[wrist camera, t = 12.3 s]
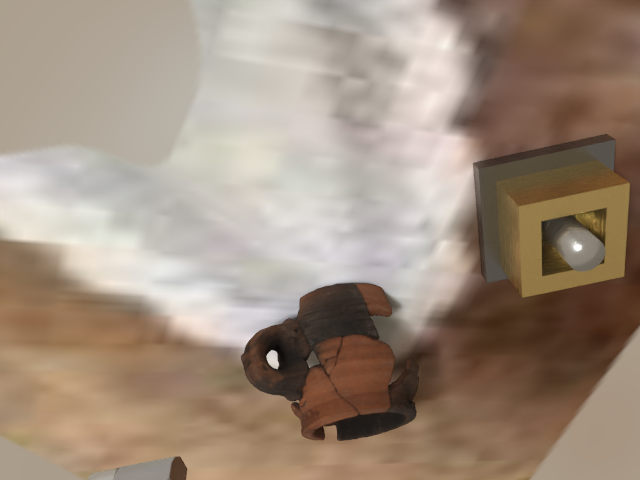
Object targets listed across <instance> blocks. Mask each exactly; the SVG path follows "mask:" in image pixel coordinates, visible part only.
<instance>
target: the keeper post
mask: <svg viewBox="0 0 640 480" xmlns="http://www.w3.org/2000/svg"><path fill="white" fill-rule="evenodd" d="M614 157H615V139H614V138H612V137H610V136H609V135H607V134H605V135H601V136H596V137H591V138H587V139H582V140H577V141H573V142H568V143H563V144H559V145H554V146H550V147H545V148H540V149H536V150H531V151H526V152H522V153H517V154H513V155H508V156H503V157H499V158H494V159H489V160H485V161H480V162H476V163H473V168H474V181H475V193H476V206H477V219H478V232H479V245H480V257H481V270H482V276H483V278H484V279H485V281H486V282H487V283H490V282H494V281H499V280H504V279H509V278H508V277H507V275H506V274H505V272H504V271H503V269H502V268H501V258H500V240H499V222H498V204H497V186H496V182H497V181H501V180H506V179H511V178H515V177H520V176H525V175H529V174H534V173H539V172H544V171H548V170H553V169H558V168H562V167H567V166H572V165H576V164H581V163H586V162H591V161H595V160H598V161H599V162H601V163H602V164H604V165H605V166H607V167H608V168H609V169H611V170H612V171H614ZM541 237H542V242H546V241H548V242H549V243H550V244H551V245H552V246H553V248H554V249H555V250H556V251H557V252H558V253H559V254H560V255H561V256H562V258H563V259H564V260H565V261H566V262H567V263H568V264H569V265H570V266H571V268H572V269H574V270H576V271H580V272H585V271H589V270H592V269H594V268H595V267H597V266H598V265H599V264H600V263H601V262H602V260H603V258H604V256H605V247H604V245H603V243H602V242H601V241H600V240H598V239H597V238H596V237H595V236H594V235H593V234H592V233H591V232H590V231H589V230H588V229H587V228H586V227H585V226H584V225H583V224H581V223H580V222H579V221H578V220H577V219H576V214H574V215H569V216H565V217H560V218H555V219H550V220H546V221H541Z"/></svg>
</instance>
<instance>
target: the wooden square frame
mask: <svg viewBox="0 0 640 480" xmlns="http://www.w3.org/2000/svg"><path fill="white" fill-rule="evenodd" d="M496 186H497V204H498V222H499V240H500V258H501V268H502V269H503V271H504V272H505V274H506V275H507V277H508V278H509V280H510V281H511V282H512V284H513V285H514V287H515V288H516V290H517V291H518V293H519V294H520V295H521V297H522V298H524V297H528V296H533V295H538V294H543V293H548V292H552V291H557V290H562V289H567V288H572V287H576V286H581V285H586V284H591V283H596V282H600V281H605V280H610V279H615V278H620V277H624V270H625V254H626V238H627V223H628V207H629V191H630V183H629V182H628V181H627V180H625V179H624V178H622V177H621V176H619V175H618V174H617V173H615V172H614V171H612V170H611V169H609V168H608V167H607V166H605V165H604V164H602V163H601V162H599V161H598V160H595V161H591V162H586V163H581V164H576V165H572V166H567V167H562V168H558V169H553V170H548V171H544V172H539V173H534V174H529V175H525V176H520V177H515V178H511V179H506V180H501V181H497V182H496ZM574 214H576V219H577V220H578V221H579V222H580V223H581V224H583V225H584V226H585V227H586V228H587V229H588V230H589V231H590V232H591V233H592V234H593V235H594V236H595V237H596V238H597V239H598V240H600V241H601V242H602V243H603V245H604V247H605V256H604V258H603V260H602V262H601V263H600V264H599V265H598V266H597V267H595V268H594V269H592V270H589V271H585V272H580V271H576V270H574V269H572V268H571V266H570V265H569V264H568V263H567V262H566V261H565V260H564V259H563V258H562V256H561V255H560V254H559V253H558V252H557V251H556V250H555V249H554V248H553V246H552V245H551V244H550V243H549V242H548V241H546V242H542V237H541V221H546V220H550V219H555V218H560V217H565V216H569V215H574Z"/></svg>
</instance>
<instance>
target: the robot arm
mask: <svg viewBox="0 0 640 480" xmlns="http://www.w3.org/2000/svg"><path fill="white" fill-rule="evenodd" d="M186 475H187V467H186V466H185V464H184V462H183V461H182V459H181V457H170V458H165V459H160V460H155V461H150V462H145V463H140V464H134V465H129V466H124V467H120V468H116V469H111V470H106V471H101V472H96V473H92V474H91V475H90V476H89V478H88V479H87V480H186Z"/></svg>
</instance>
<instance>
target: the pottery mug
mask: <svg viewBox="0 0 640 480" xmlns="http://www.w3.org/2000/svg"><path fill="white" fill-rule="evenodd" d="M391 314H392V308H391V305H390V304H389V302H388V300H387V298H386V296H385V294H384V292H383V289H382V288H381V287H378V286H375V285H369V284H353V283H352V284H336V285H333V286H326V287H323V288H319V289H316V290H315V291H313V292H310V293H308V294H306V295H304V296H303V297H301V298H300V309H299V311H298V318H297V321H294V320H292V319H287V320H285V321H284V322H283V323H282V324H279V325H274V326H270V327H268V328H265V329H262V330H260V331H259V332H257V333H256V334H255V335H254V336H253V337H252V339H250V340H249V342H248V343H247V345H246V347H245V351H244V354H242V356H241V360H242V363H243V366H244V370H245V374H246V377H247V379H248V380H249V381H250V383H251V384H252V385H253V386H254V387H256V388H257V389H258V390H260V391H262V392H265V393H268V394H272V395H281V396H284V397H285V398H286V399H287V400H289V401H296V400H299V403H297V402H294V403H292V404H291V408H292V411H293V412H294V414H295V415H296V416H297V417H298V418H300V420H301V425H302V429H301V434H302V436H304V437H305V438H308V439H311V440H324V438H325V433H324V428H323V426H332V425H336V428H337V440H339V441H343V440H352V439H358V438H362V437H369V436H373V435H377V434H381V433H383V432H387V431H390V430H393V429H396V428H398V427H400V426H403V425H405V424H407V423H409V422H411V421H412V420H413V419H414V418H415V417H416V410H415V409H416V408H415V403H414V402H412V400H413V397H414V396H415V394H416V392H417V389H418V380H419V377H418V370H419V367H418V365H417V363H416V362H415V361H414V360H413V359H411V358H410V359H408V360H407V362H406V366H405V371H403V372H402V374H401V375H400V377H399V378H398V379H397V380H396V381H394V382H393V383H392V384H390V385H389V383H390V381H391V375H392V372H393V368H394V362H395V356H394V355H393V352H392V349H391V348H390V346H389V345H387V344H386V343H384V342H382V341H379V340H378V339H379V335H378V332H377V330H376V328H375V326H374V324H373V321H372V319H371V318H370V316H373V315H376V316H378V315H379V316H385V317H389V316H390V315H391ZM271 350H274V351H276V352H277V353H278V362H279V367H278V369H274V368H272V367H271V366H270V365H269V363H268V361H267V359H266V355H267V354H268V353H269V352H270V351H271ZM311 351H313V352H314V353H315V354H316V356H317V358H318V360H319V362H320V364H319V365H314V366H312V367H311V368H309V367H308V364H307V362H306V361H307V359H308V357H309V355H310V353H311Z"/></svg>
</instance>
